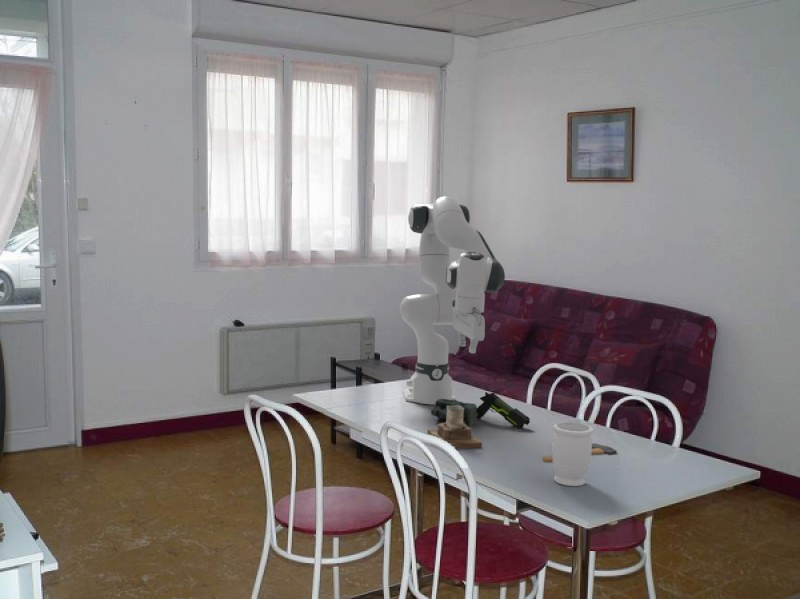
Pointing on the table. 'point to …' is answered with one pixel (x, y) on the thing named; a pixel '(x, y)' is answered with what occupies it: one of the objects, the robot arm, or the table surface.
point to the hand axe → (595, 450)
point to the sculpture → (442, 404)
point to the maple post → (454, 417)
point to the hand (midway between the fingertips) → (467, 349)
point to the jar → (571, 452)
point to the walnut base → (457, 442)
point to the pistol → (501, 410)
